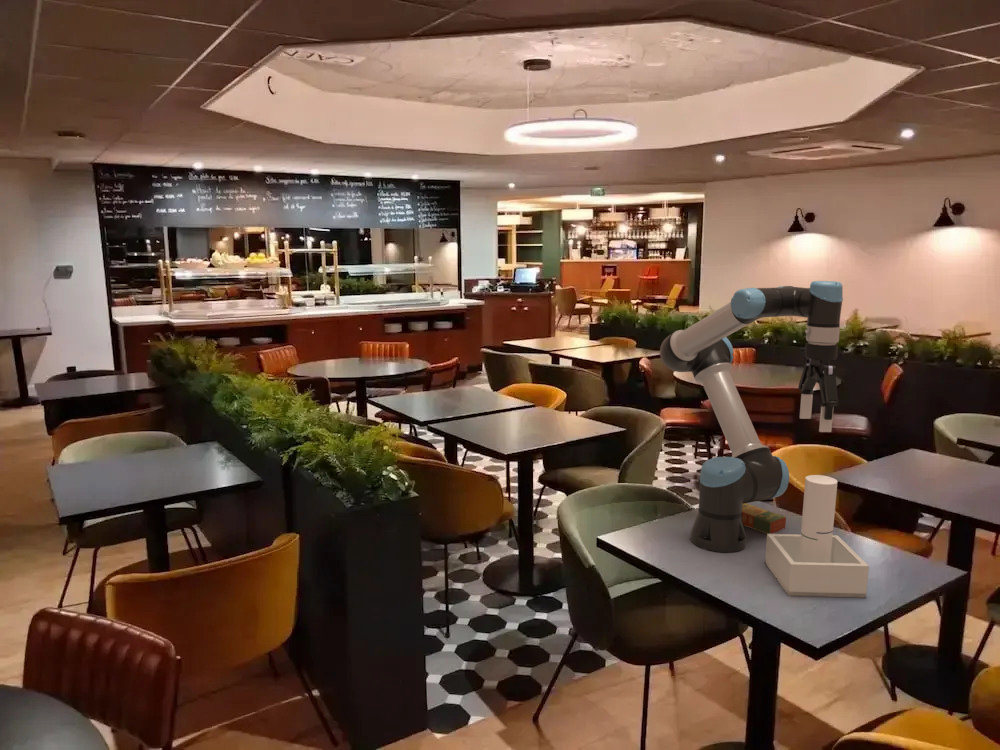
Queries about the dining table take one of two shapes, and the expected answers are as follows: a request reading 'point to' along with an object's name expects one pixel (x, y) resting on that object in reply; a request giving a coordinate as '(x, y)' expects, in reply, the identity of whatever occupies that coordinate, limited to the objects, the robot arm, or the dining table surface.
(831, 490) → the cylindrical container
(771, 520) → the carton
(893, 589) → the dining table surface
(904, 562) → the dining table surface
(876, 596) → the dining table surface
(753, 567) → the dining table surface
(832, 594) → the beige bin
